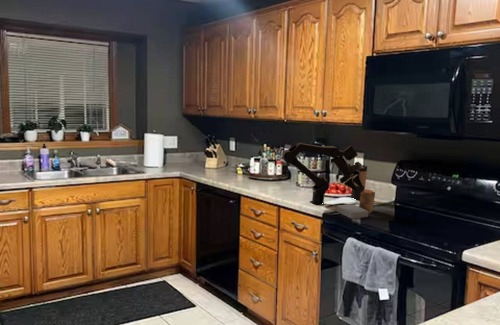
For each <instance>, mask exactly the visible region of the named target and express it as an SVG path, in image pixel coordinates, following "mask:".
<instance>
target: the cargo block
mask: <svg viewBox="0 0 500 325" xmlns="http://www.w3.org/2000/svg"><path fill="white" fill-rule="evenodd" d="M373 192H374V190H372V189H367V188H365V190H364V191H363V193H368V194H372V193H373Z"/></svg>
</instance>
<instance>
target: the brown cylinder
mask: <svg viewBox="0 0 500 325" xmlns="http://www.w3.org/2000/svg"><path fill="white" fill-rule="evenodd" d="M375 197H376V192H375V191H373V193H372V194H368V193H363V191H362V192H361V195H360V200H359V204H358V205H359V206H358V207H360V208H362V209H365V210H367V211H369V212H368V214H371V213H372V212H373V211H374V207H375V206H374V205H375Z"/></svg>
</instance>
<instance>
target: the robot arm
mask: <svg viewBox="0 0 500 325" xmlns="http://www.w3.org/2000/svg"><path fill="white" fill-rule="evenodd" d="M303 151H304V152H307V153H308V152H309V153H315V154H320V155H321V154H322V155H324V156H327V157H330V160H329V161H330V162H329V164H330V165H333V164H334V165H335V167H336V168H337V169H338V172H339V173H341V174H342V177H341V178H339V182H340V183H341V184H343V185H344V186H346V187H348V188H350V189H351V190H352V189H353V190H355V191H357V190H358V189H357V187H356V185H355V184H357V185H358V186H359V187H361V188H362V187H363V185H362V182H361V180H360V175H361V172H360V169H362V167H361V166H362V165H363V164H361V162H359V161H356V162H354V164H352V165H351V163H348V162H350V161H352V160H353V159H354V158H356V157H357V156H358V155H359V154H358V153H357V151H356V150H355V148H353V147H352V145H348V147H346V148H345V149H344V150H341V149H339V148H337V147H336V146H333V145H324V146H320V145H314V144H309V143H303V142H298V143H296V144H295V145H293V146H291V147H290V148H288V149H284V150H283V151H282V153H281V158H282V159H283V160H284V161H285V162H286V163H288V164H290V165H292V166H294V167H295V168H297V169H298V171H300V172H302V174H304V175H305V176H306V177H307V178H309V179H310V180H311V182H313V184H314V185H313V186H312V187H311V188H312V199H311V200H309V203H310V204H313V205H314V206H320V204H322V203H325V202H324V201H325V200H324V199H325V194H326V192H327V191H329V188H330V184H329V181H328V180H327V179H326V178H324V177H323V176H322V175H321V174H319V176H318V175H316V174H315V173H314V172H313V171H311V169H310V168H308V167H307V166H306V165H304V164H303V163H302V162H301V161H300V160H299V159H298V157H297V156H298V155H300V153H301V152H303ZM358 174H359V175H358ZM354 183H355V184H354Z"/></svg>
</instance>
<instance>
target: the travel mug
mask: <svg viewBox="0 0 500 325" xmlns="http://www.w3.org/2000/svg"><path fill="white" fill-rule="evenodd" d="M361 167H362V169H360V172H361V175H360V180H361V182H362V185H363V187H362V188H361V187H359V186H358V185H357V184H355V183H354V184H355V185H356V187H357V189H358V190H357V191H355V190H353V189H352V188H351V191H350V192H351V193H350V194H351V195H350V199H351V198H354V199H356V200H355V201H360V195H361V192H362V191H364V190H365V189H366V183H367V174H368V173H367V172H368V166H367V165H363V164H362V166H361ZM358 175H359V174H358Z"/></svg>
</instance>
